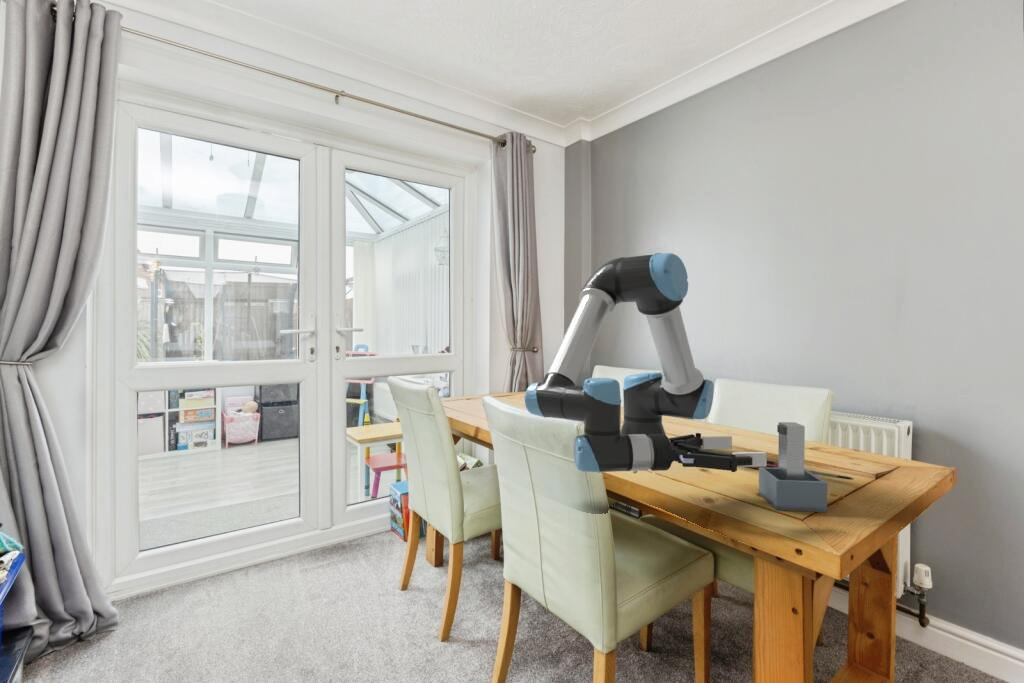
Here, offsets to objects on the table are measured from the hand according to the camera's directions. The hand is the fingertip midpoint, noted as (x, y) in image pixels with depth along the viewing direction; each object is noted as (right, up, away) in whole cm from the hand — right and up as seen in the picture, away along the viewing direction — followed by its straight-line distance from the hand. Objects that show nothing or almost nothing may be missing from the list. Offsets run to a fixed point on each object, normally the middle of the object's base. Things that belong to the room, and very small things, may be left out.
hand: (747, 450), depth 100 cm
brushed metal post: (+10, -11, +1) cm, 14 cm away
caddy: (+10, -11, +1) cm, 15 cm away
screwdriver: (+21, -11, +19) cm, 31 cm away
